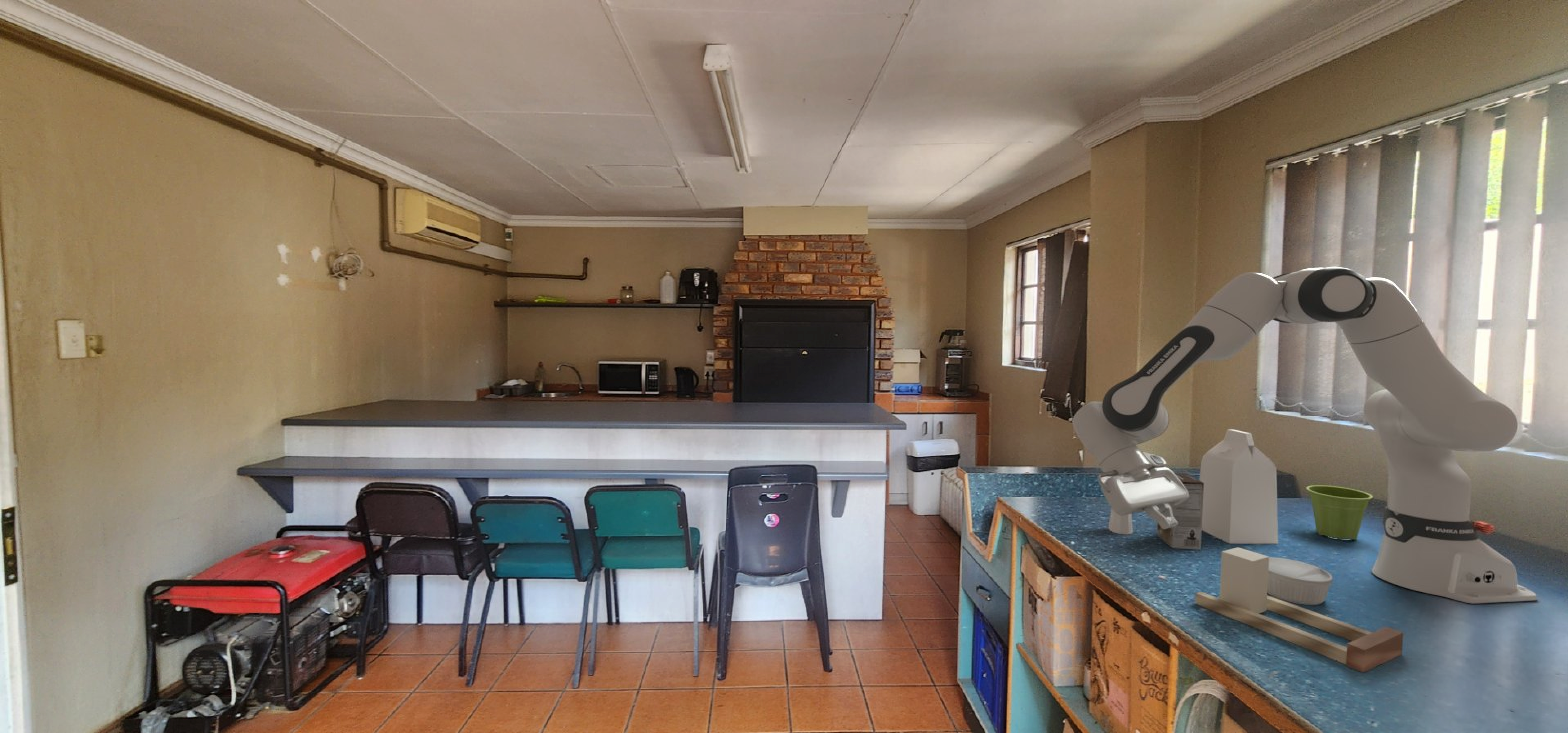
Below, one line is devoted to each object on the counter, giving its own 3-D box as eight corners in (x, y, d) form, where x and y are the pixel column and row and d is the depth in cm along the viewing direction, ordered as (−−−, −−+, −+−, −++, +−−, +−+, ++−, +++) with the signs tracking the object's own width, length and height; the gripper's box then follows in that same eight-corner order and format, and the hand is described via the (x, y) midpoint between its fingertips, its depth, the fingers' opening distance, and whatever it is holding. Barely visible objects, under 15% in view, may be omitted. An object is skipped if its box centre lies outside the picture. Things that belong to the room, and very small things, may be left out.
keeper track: (1193, 604, 108) (1194, 585, 108) (1231, 592, 113) (1232, 574, 113) (1363, 673, 86) (1364, 650, 86) (1401, 654, 91) (1403, 632, 91)
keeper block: (1219, 604, 107) (1221, 551, 107) (1235, 599, 109) (1237, 547, 109) (1250, 616, 103) (1252, 561, 102) (1266, 610, 105) (1269, 556, 104)
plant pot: (1292, 527, 150) (1294, 484, 149) (1343, 529, 148) (1346, 486, 148) (1328, 544, 138) (1330, 497, 138) (1384, 546, 137) (1387, 499, 136)
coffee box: (1155, 535, 145) (1157, 471, 144) (1184, 536, 143) (1186, 472, 142) (1172, 548, 136) (1174, 480, 135) (1202, 550, 134) (1205, 482, 133)
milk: (1278, 543, 139) (1283, 435, 137) (1229, 543, 139) (1234, 435, 137) (1239, 526, 151) (1243, 427, 149) (1194, 526, 151) (1198, 427, 149)
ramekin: (1338, 614, 104) (1340, 585, 104) (1259, 599, 110) (1260, 572, 110) (1322, 590, 114) (1324, 564, 114) (1250, 577, 120) (1251, 552, 119)
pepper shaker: (1133, 530, 148) (1134, 487, 148) (1132, 536, 144) (1134, 492, 143) (1109, 526, 151) (1110, 484, 151) (1107, 532, 147) (1108, 489, 146)
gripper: (1103, 465, 119) (1148, 526, 111) (1167, 456, 128) (1214, 513, 119) (1084, 481, 124) (1125, 541, 115) (1147, 472, 132) (1190, 527, 124)
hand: (1171, 527), depth 117 cm, fingers closed
